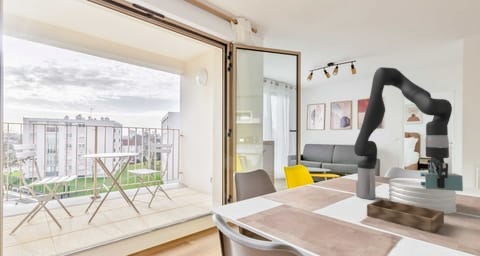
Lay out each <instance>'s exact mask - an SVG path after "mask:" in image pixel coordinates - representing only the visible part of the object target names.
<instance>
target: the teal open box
mask: <svg viewBox="0 0 480 256" xmlns="http://www.w3.org/2000/svg"><path fill="white" fill-rule="evenodd" d="M420 177H424V180H425V182H421V186H422V187H424V188H426V189H438V190H453V191H455V192H463V191H464V186H463V175H461V174H457V173H453V172H451V173H449V172H448V178H446V179H445V188H438V187H437V179H438V178H437V174H436V173H431V172H427V171H426V172H425V171H420Z"/></svg>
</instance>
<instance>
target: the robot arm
mask: <svg viewBox="0 0 480 256" xmlns="http://www.w3.org/2000/svg"><path fill="white" fill-rule="evenodd" d="M385 86H387V87H388V86H389V87H390V86H392V87H394V88H397V89H399V90H400V91H401V94H402V95H403V97H404V98H405V99H406V100H408V101H409V102H411V103H413V104H414V105H415V106H416V108H417V109H418V110H419V111H420V112H421V113H422V114H424V115H427V116H433V118H432V120H431V121H428V122H427V123H426V125H425V157H426V158H430V159H428V160H427V170H428V172H431V173H436V174H437V178H438V179H437V187H438V188H445V179H446V178H448V173H449V163H446V162H445V159H449V157H450V147H449V146H450V142H449V141H450V140H449V136H448V135H449V133H448V132H449V131H448V125H449V122H450V120H451V115H452V113H453V112H452V111H453V107H452V104H451V102H450V101H449V100H447V99H445V98H444V99H443V98H433V97H432V95H431V93H430V92H429V91H428V90H426V89H424V88H423V87H421V86H419V85H417V84H416V83H414V82H412V81H411V80H410V79H409V78H407V76H405V75H404V74H403V73H402V72H401V71H400V70H399V69H397V68H396V67H385V66H383V67H382V66H381V67H379V68H377V69H376V70H375V72H374V75H373V78H372V84H371V90H370V95H369V99H368V102H367V106H366V109H365V114H364V117H363V121H362V124H361V128H360V129H359V133H358V135H357V137H356V141H355V143H354V146H353V147H354V148H353V149H354V154H355V155H356V156H358V157H363V159H362V160H360V161H359V162H358V163H357V179H356V180H355V183H356V184H355V186H356V187H355V190H356V193H355V196H356V197H358V198H361V199H366V200H376V194H377V193H376V165H377V160H378V146H377V143H376V142H375V141H374V140H369V139H370V137H371V136H372V135H373V132H375V131H376V129H378V128H379V126H380V125H381V124H382V123H383V119H384V116H385V113H386V106H385V103H384V100H383V99H384V98H383V92H384V88H385Z"/></svg>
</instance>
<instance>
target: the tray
mask: <svg viewBox="0 0 480 256" xmlns="http://www.w3.org/2000/svg"><path fill="white" fill-rule="evenodd" d="M366 217H370V218H372V219H374V218H375V219H378V220H382V221H385V222H389V223H392V224H396V225H401V226H404V227H409V228H411V229H416V230H419V231H423V232H427V233H430V234H436V232H437V231H438V230H439V229H441V228H442V226H443V225H444V224H445V215H444V211H439V210H434V209H429V208H424V207H419V206H414V205H409V204H404V203H399V202H394V201H389V199H388V200H387V199H384V198H380V199H378V200H375V201H373V202H370V203H368V204H367V205H366Z"/></svg>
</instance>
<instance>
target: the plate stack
mask: <svg viewBox="0 0 480 256" xmlns="http://www.w3.org/2000/svg"><path fill="white" fill-rule="evenodd" d="M421 182H425V179H421V178H410V177H408V178H407V177H406V178H405V177H404V178H403V177H402V178H401V177H399V178H398V177H397V178H390V179H389V180H388V183H389V184H388V187H389V189H388V192H389V198H388V200H389V201H394V202H399V203H404V204H409V205H414V206H419V207H424V208H429V209H434V210H439V211H444V214H454V213H456V212H457V202H456V201H457V197H456V196H457V191H453V190H438V189H426V188H424V187H422V186H421Z"/></svg>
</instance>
